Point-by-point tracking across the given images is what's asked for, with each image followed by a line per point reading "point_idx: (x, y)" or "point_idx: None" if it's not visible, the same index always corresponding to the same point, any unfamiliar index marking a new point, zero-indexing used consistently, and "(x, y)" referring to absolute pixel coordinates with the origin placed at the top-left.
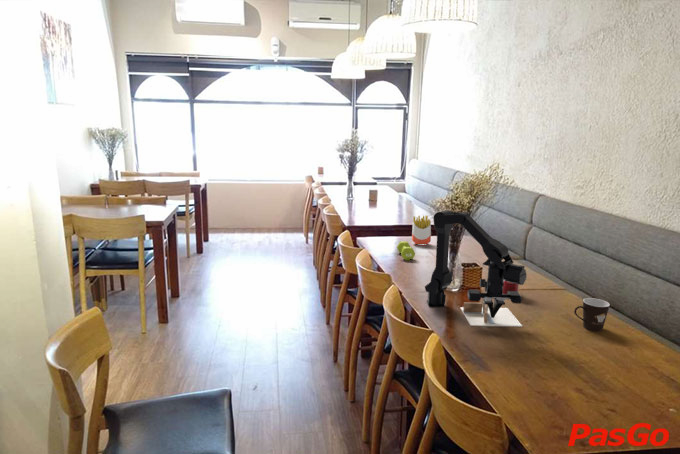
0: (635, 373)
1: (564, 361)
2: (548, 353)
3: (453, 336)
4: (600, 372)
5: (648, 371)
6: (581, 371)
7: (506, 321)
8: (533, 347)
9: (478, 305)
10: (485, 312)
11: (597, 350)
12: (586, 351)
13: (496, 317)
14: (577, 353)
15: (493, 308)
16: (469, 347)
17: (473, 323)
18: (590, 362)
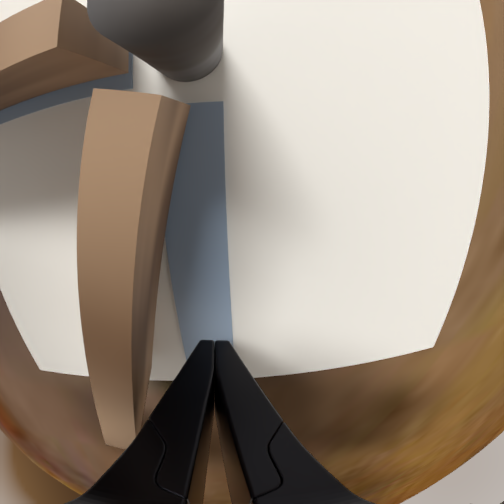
0: (456, 460)
1: (367, 488)
2: (356, 481)
3: (18, 430)
4: (404, 484)
5: (480, 445)
6: (371, 496)
7: (368, 298)
8: (333, 475)
9: (16, 75)
10: (111, 437)
11: (487, 418)
12: (462, 435)
13: (305, 201)
14: (433, 452)
15: (229, 443)
16: (94, 480)
17: (50, 353)
18: (422, 468)
